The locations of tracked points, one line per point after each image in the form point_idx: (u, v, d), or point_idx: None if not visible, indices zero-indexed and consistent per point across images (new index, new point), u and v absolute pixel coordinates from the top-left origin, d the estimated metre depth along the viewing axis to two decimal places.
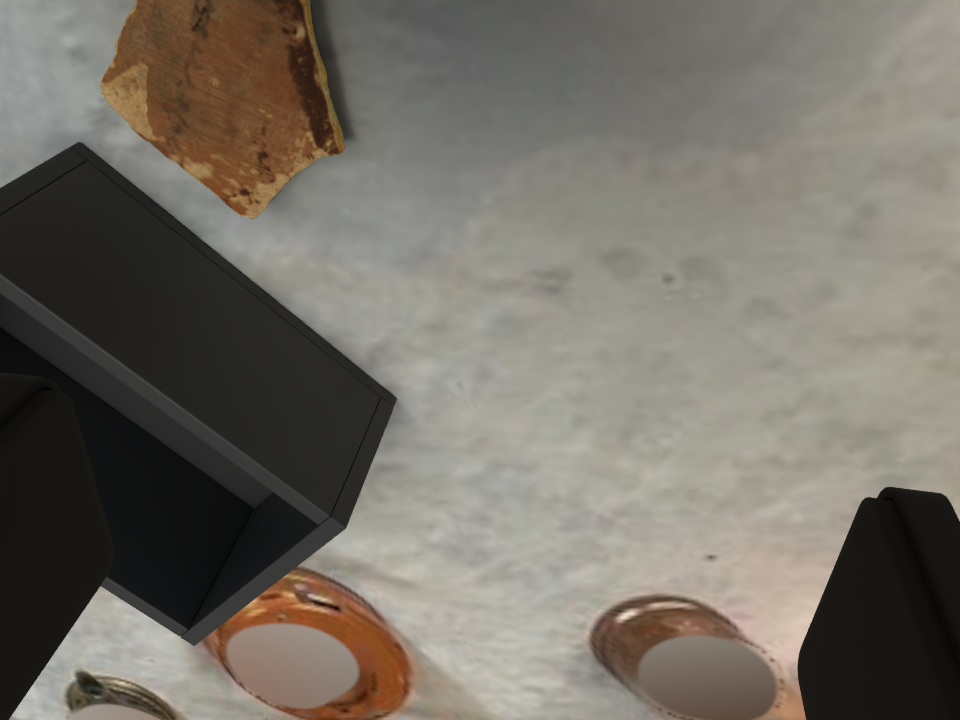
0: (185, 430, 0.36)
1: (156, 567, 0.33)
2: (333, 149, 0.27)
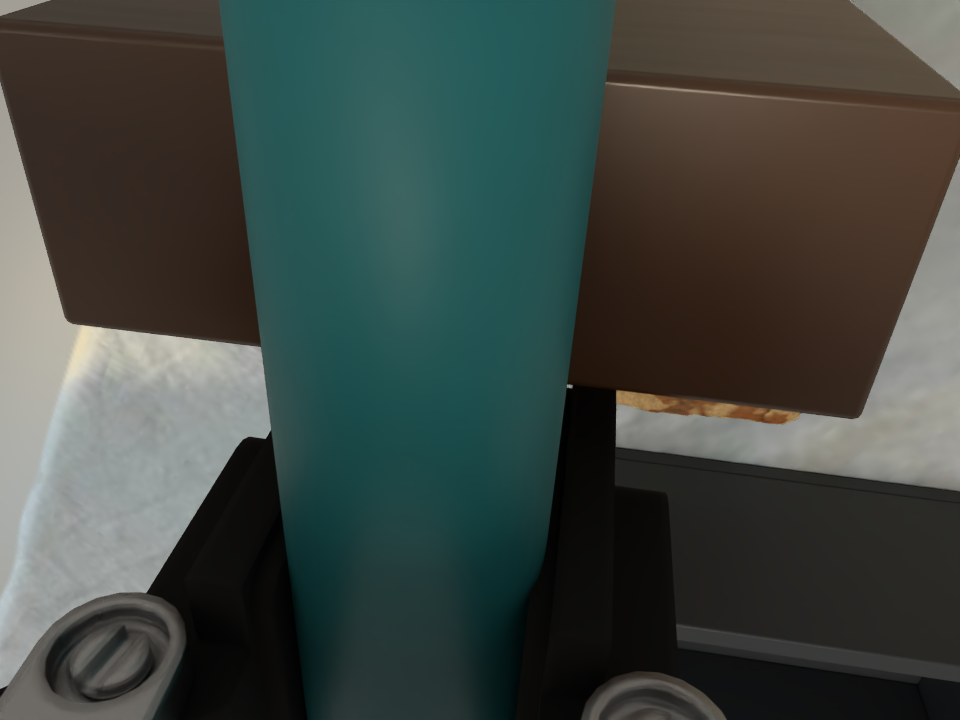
0: None
1: None
2: None
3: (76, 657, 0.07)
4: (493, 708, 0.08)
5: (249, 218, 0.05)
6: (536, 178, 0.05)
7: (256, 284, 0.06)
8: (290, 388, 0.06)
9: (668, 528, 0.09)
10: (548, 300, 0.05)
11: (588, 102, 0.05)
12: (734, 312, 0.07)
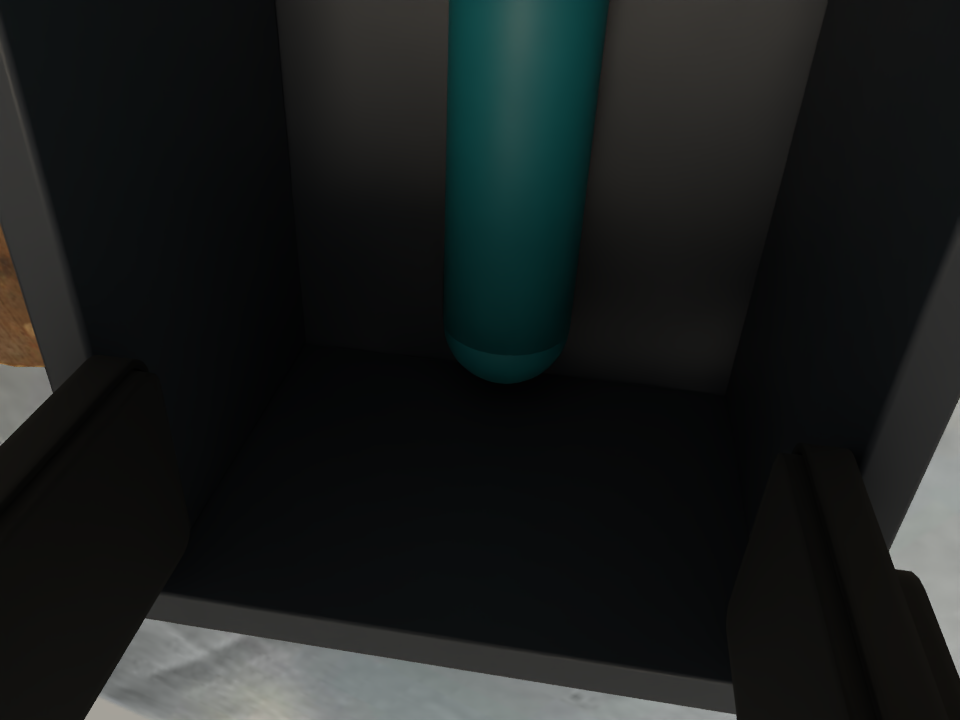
0: None
1: None
2: None
3: None
4: (555, 292, 0.14)
5: None
6: None
7: (454, 23, 0.12)
8: (468, 74, 0.12)
9: (935, 618, 0.08)
10: (591, 25, 0.12)
11: None
12: None
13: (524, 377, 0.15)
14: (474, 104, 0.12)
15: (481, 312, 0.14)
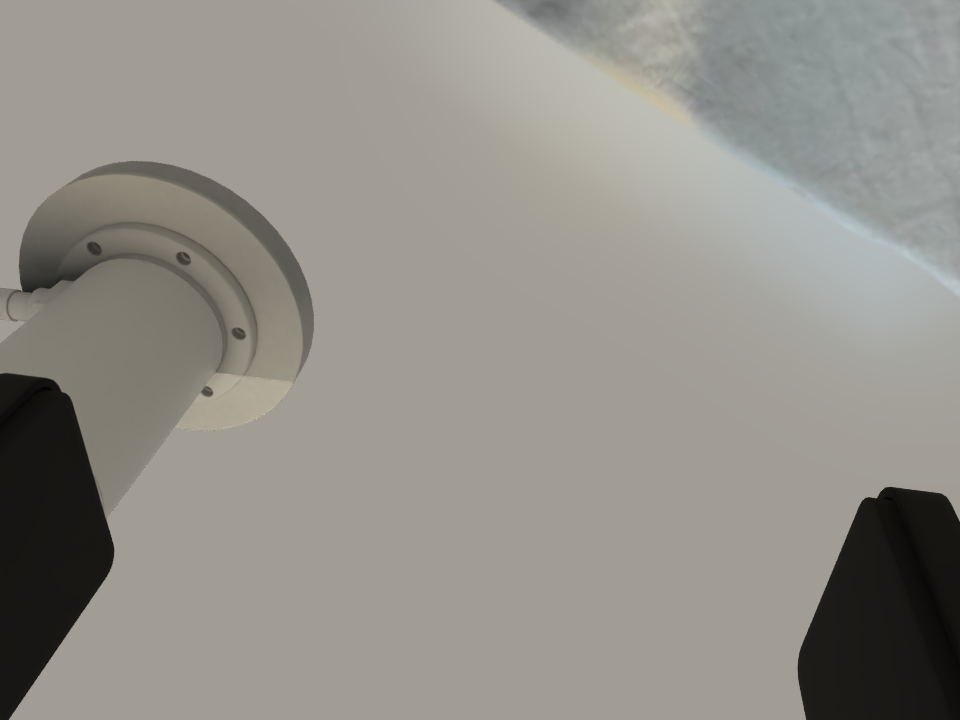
0: None
1: None
2: None
3: None
4: None
5: None
6: None
7: None
8: None
9: None
10: None
11: None
12: None
13: None
14: None
15: None
